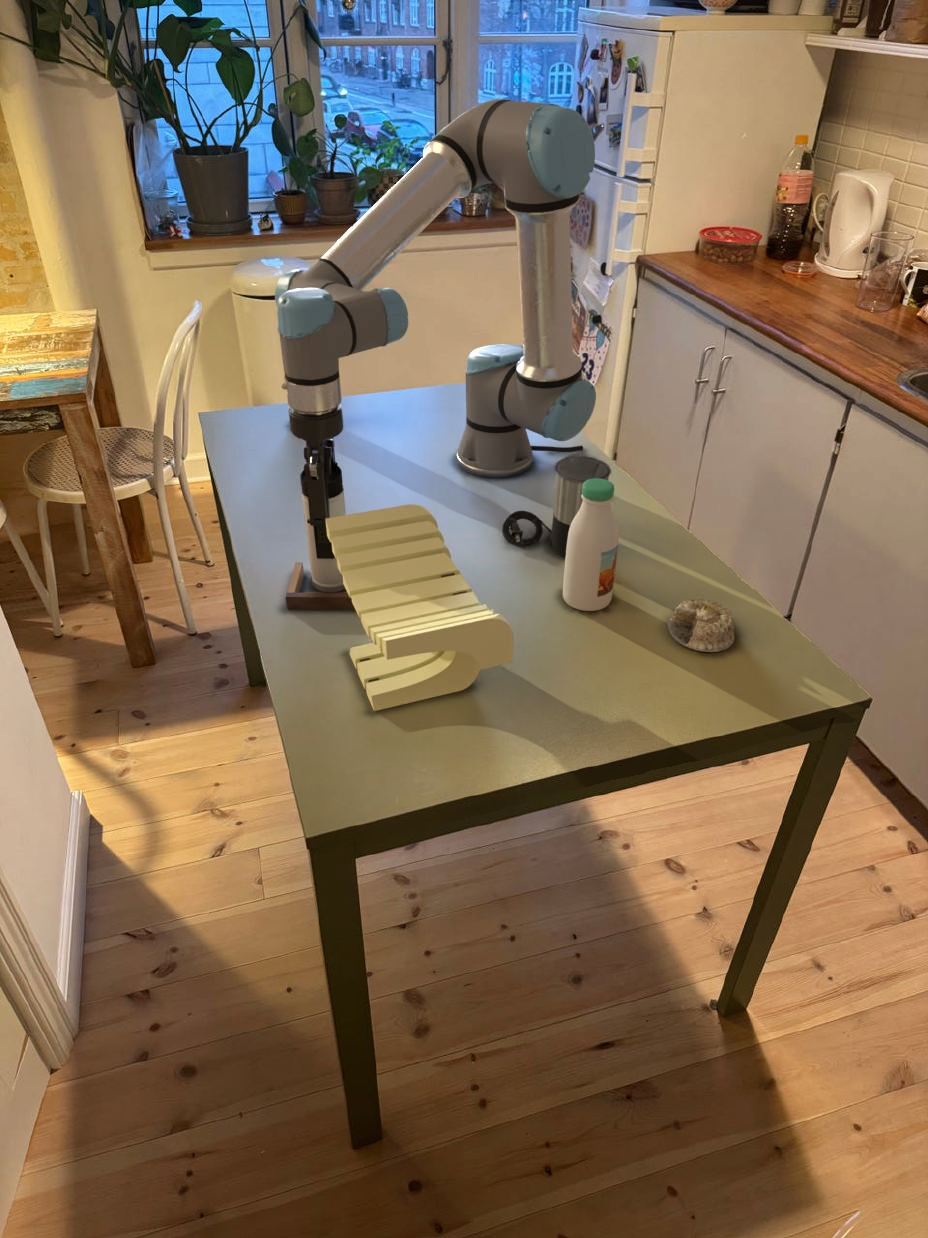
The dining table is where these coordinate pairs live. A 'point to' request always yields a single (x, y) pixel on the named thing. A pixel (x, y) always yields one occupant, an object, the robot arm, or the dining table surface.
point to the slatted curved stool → (413, 607)
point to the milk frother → (559, 502)
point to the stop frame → (313, 596)
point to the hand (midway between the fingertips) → (328, 545)
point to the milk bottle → (591, 549)
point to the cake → (702, 625)
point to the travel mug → (322, 570)
